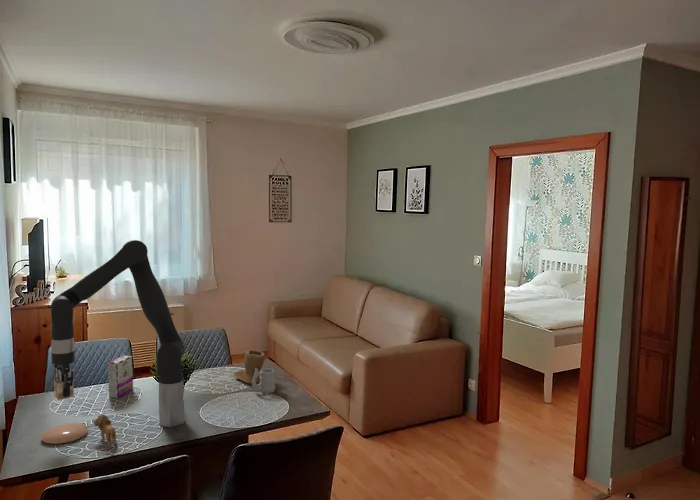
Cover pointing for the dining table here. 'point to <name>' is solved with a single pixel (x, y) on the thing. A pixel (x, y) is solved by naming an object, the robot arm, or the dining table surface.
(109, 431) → the lion figurine
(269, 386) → the mug
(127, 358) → the candy bar box
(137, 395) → the dining table surface
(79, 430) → the dish
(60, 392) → the birch block
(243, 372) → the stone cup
